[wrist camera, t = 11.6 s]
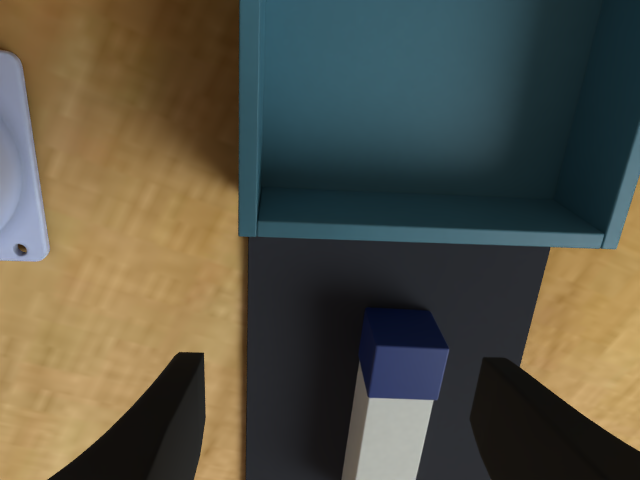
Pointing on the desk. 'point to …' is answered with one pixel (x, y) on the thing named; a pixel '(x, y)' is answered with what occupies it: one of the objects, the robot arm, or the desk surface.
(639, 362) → the desk surface
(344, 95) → the storage box
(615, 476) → the robot arm
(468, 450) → the mat
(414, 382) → the marker
